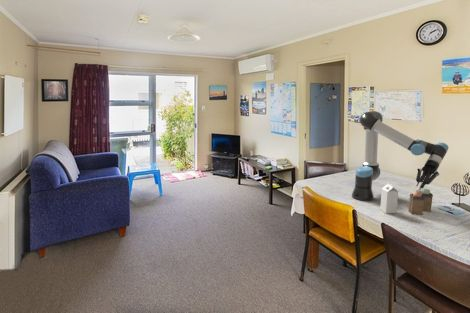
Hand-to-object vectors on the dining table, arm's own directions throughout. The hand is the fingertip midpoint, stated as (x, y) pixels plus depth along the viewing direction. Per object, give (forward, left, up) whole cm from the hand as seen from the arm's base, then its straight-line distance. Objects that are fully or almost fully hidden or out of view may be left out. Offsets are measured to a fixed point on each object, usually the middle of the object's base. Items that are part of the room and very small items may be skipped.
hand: (417, 191), depth 187 cm
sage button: (-8, +8, -5) cm, 12 cm away
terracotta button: (-1, +1, -5) cm, 5 cm away
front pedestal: (-1, +1, -15) cm, 15 cm away
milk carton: (0, -16, -15) cm, 22 cm away
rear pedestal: (-8, +8, -15) cm, 19 cm away
